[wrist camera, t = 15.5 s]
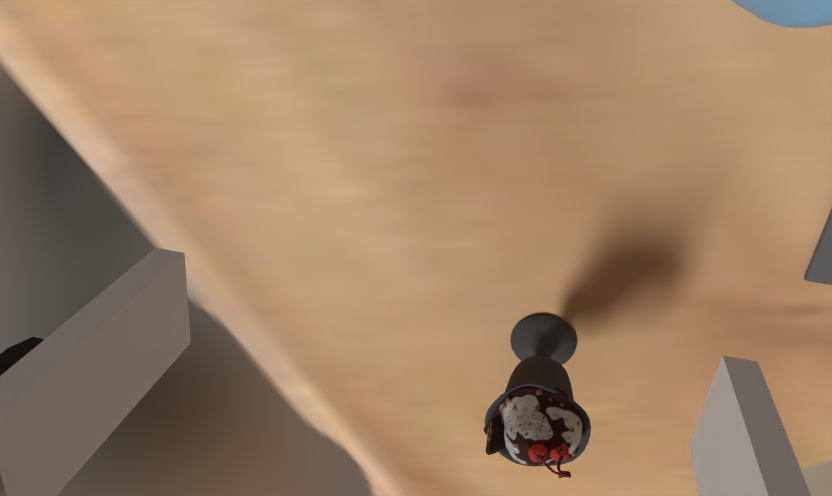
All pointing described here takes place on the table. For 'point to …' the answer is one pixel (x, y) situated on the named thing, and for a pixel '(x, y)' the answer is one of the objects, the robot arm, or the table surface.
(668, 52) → the table surface
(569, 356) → the sundae
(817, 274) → the mat
